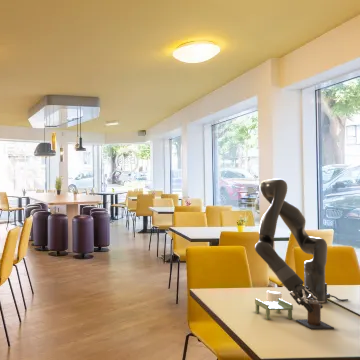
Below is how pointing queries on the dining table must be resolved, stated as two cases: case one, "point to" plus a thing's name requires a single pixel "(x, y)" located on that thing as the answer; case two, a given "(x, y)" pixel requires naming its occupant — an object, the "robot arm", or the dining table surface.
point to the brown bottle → (314, 313)
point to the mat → (322, 326)
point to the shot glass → (273, 296)
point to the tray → (274, 307)
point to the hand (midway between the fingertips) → (316, 310)
